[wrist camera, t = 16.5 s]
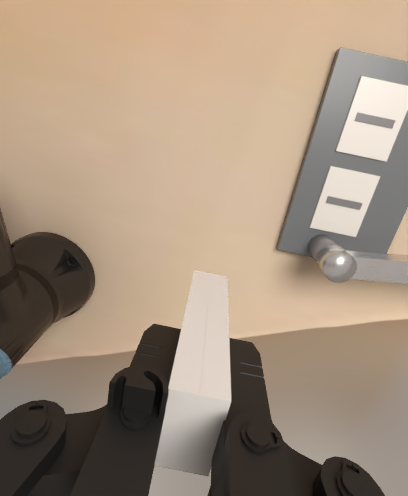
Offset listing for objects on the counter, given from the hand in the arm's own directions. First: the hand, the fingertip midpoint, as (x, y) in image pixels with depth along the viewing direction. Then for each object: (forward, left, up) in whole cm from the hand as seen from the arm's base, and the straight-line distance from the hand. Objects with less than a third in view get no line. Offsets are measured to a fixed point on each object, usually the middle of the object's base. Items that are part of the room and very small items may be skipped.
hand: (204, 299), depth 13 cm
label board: (+19, +6, -32) cm, 38 cm away
